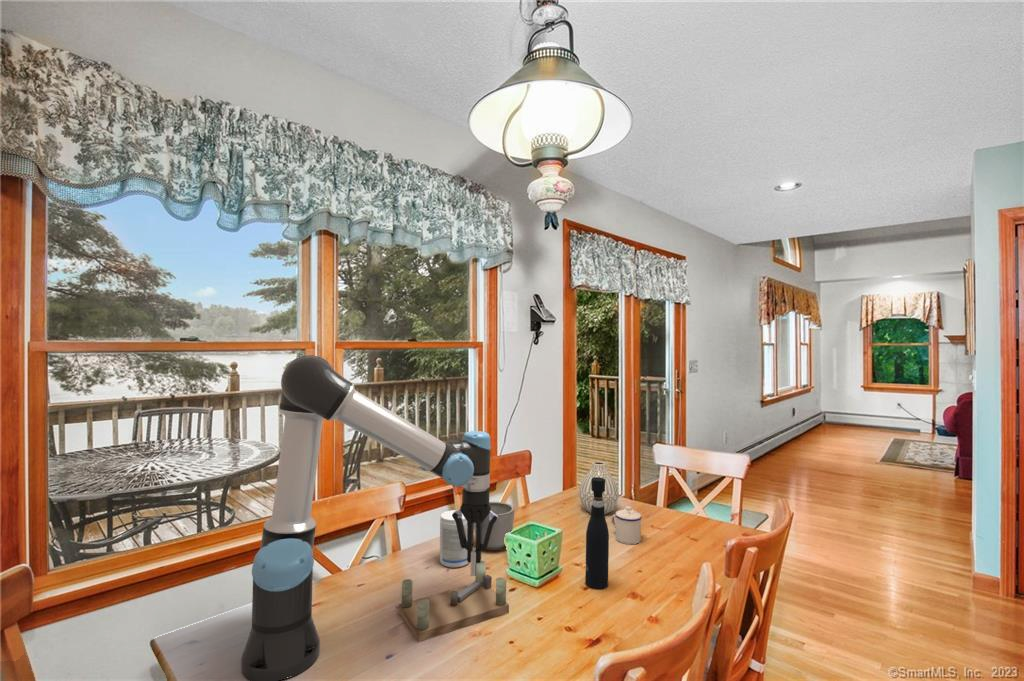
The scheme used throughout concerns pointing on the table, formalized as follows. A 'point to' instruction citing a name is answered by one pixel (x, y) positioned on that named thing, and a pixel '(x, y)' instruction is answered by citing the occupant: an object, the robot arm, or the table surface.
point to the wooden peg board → (451, 608)
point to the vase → (608, 495)
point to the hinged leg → (476, 584)
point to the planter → (498, 524)
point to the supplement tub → (451, 541)
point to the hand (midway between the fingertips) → (473, 573)
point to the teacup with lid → (627, 526)
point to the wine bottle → (597, 540)
